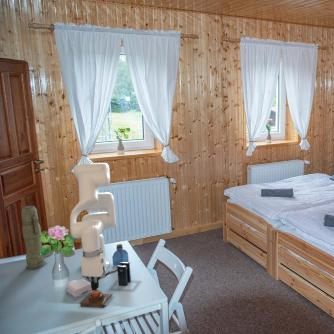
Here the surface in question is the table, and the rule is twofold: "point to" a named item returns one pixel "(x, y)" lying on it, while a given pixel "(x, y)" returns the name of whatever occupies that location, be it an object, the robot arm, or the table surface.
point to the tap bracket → (124, 274)
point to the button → (95, 293)
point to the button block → (95, 300)
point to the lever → (114, 270)
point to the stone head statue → (32, 237)
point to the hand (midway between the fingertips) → (95, 289)
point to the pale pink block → (78, 287)
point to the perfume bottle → (120, 255)
